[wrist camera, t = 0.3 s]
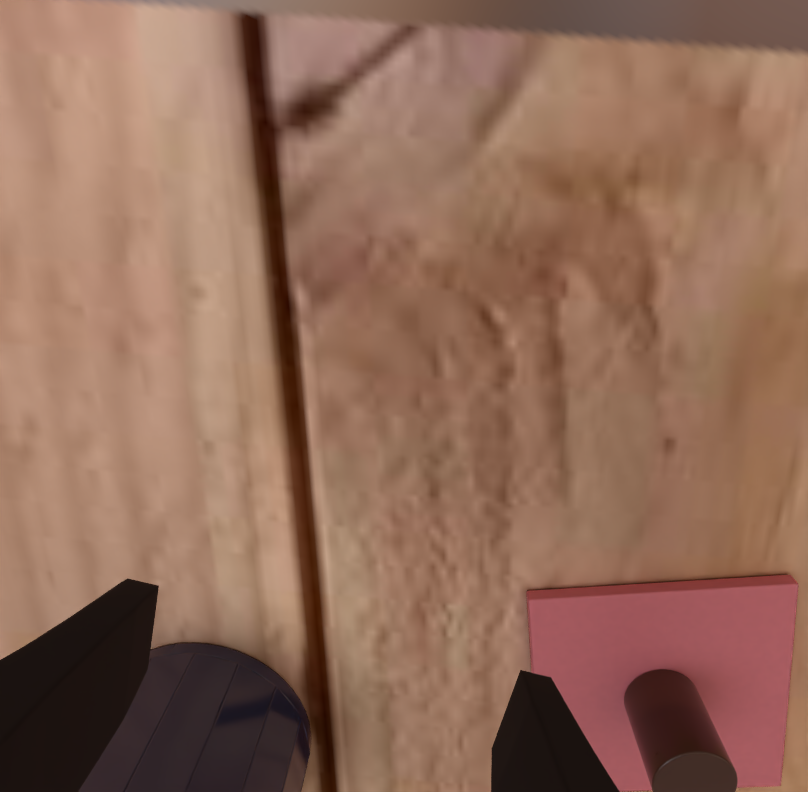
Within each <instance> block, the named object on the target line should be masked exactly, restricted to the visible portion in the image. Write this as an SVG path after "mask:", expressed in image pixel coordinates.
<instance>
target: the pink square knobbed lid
mask: <svg viewBox="0 0 808 792" xmlns="http://www.w3.org/2000/svg"><path fill="white" fill-rule="evenodd" d="M797 596H798V583H797V582H796V581H795V579H794V578H793V577H792V576H791V575H775V576H759V577H743V578H727V579H710V580H694V581H678V582H662V583H645V584H629V585H613V586H597V587H580V588H564V589H548V590H532V591H527V592H526V597H527V612H528V627H529V643H530V658H531V673H535V674H539V675H543V676H548V677H551V678H552V680H553V682H554V683H555V685H556V687H557V688H558V690H559V692H560V694H561V695H562V697H563V699H564V701H565V702H566V704H567V706H568V708H569V709H570V711H571V713H572V714H573V716H574V718H575V720H576V721H577V723H578V725H579V727H580V728H581V730H582V732H583V733H584V735H585V737H586V738H587V740H588V742H589V743H590V745H591V747H592V748H593V750H594V752H595V753H596V755H597V757H598V758H599V760H600V761H601V763H602V765H603V766H604V768H605V769H606V771H607V773H608V774H609V776H610V777H611V779H612V780H613V782H614V784H615V785H616V787H617V788H618V790H619V791H650V790H652V791H653V792H735V791H736V788H739V787H768V786H781V778H782V767H783V756H784V744H785V733H786V721H787V710H788V699H789V687H790V676H791V664H792V653H793V641H794V630H795V619H796V607H797Z"/></svg>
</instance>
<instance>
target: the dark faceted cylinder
mask: <svg viewBox="0 0 808 792" xmlns="http://www.w3.org/2000/svg"><path fill="white" fill-rule="evenodd" d="M310 747H311V730H310V724H309V720H308V717H307V714H306V711H305V709H304V707H303V705H302V703H301V701H300V699H299V698H298V696H297V695H296V694H295V692H294V691H293V689H292V688H291V687H290V686H289V685H288V684H287V683H286V682H285V680H284V679H282V678H281V677H280V676H279V675H278V674H277V673H275V672H274V671H273V670H272V669H270V668H269V667H267V666H266V665H264V664H263V663H261V662H259V661H258V660H256V659H254V658H252V657H250V656H248V655H245V654H243V653H241V652H238V651H236V650H232V649H229V648H225V647H222V646H216V645H210V644H201V643H180V644H173V645H167V646H163V647H159V648H156V649H153V650H150V656H149V664H148V670H147V672H146V674H145V676H144V678H143V680H142V683H141V685H140V687H139V689H138V691H137V693H136V695H135V697H134V699H133V701H132V703H131V705H130V707H129V709H128V712H127V714H126V716H125V718H124V720H123V721H122V723H121V724H120V726H119V728H118V729H117V731H116V733H115V734H114V736H113V737H112V739H111V741H110V742H109V744H108V745H107V747H106V749H105V750H104V752H103V753H102V755H101V757H100V758H99V760H98V761H97V763H96V764H95V766H94V768H93V769H92V771H91V772H90V774H89V775H88V777H87V779H86V780H85V782H84V783H83V785H82V786H81V788H80V790H79V791H78V792H301V790H302V786H303V781H304V777H305V773H306V768H307V764H308V759H309V755H310Z"/></svg>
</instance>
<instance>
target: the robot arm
mask: <svg viewBox="0 0 808 792" xmlns="http://www.w3.org/2000/svg"><path fill="white" fill-rule="evenodd" d="M158 587H159V586H157V585H153V584H148V583H144V582H140V581H135V580H131V579H126V580H125V581H123V582H121V583H120V584H118V585H117V586H115V587H114V588H112V589H111V590H109V591H108V592H106V593H105V594H104V595H102V596H101V597H99V598H98V599H96V600H95V601H93V602H92V603H90V604H89V605H87V606H86V607H84V608H83V609H81V610H80V611H79V612H77V613H76V614H74V615H73V616H71V617H70V618H68V619H67V620H65V621H63V622H62V623H60V624H59V625H57V626H56V627H54V628H52V629H51V630H49V631H48V632H46V633H45V634H43V635H42V636H40V637H38V638H37V639H35V640H34V641H32V642H30V643H29V644H27V645H26V646H24V647H22V648H20V649H19V650H17V651H15V652H13V653H12V654H10V655H8V656H7V657H5V658H3V659H1V660H0V792H78V791H79V790H80V788H81V786H82V785H83V783H84V782H85V780H86V779H87V777H88V775H89V774H90V772H91V771H92V769H93V768H94V766H95V764H96V763H97V761H98V760H99V758H100V757H101V755H102V753H103V752H104V750H105V749H106V747H107V745H108V744H109V742H110V741H111V739H112V737H113V736H114V734H115V733H116V731H117V729H118V728H119V726H120V724H121V723H122V721H123V720H124V718H125V716H126V714H127V712H128V709H129V707H130V705H131V703H132V701H133V699H134V697H135V695H136V693H137V691H138V689H139V687H140V685H141V683H142V680H143V678H144V676H145V674H146V672H147V670H148V664H149V656H150V648H151V641H152V633H153V625H154V618H155V610H156V602H157V595H158ZM491 792H620V791H619V790H618V788H617V787H616V785H615V784H614V782H613V780H612V779H611V777H610V776H609V774H608V773H607V771H606V769H605V768H604V766H603V765H602V763H601V761H600V760H599V758H598V757H597V755H596V753H595V752H594V750H593V748H592V747H591V745H590V743H589V742H588V740H587V738H586V737H585V735H584V733H583V732H582V730H581V728H580V727H579V725H578V723H577V721H576V720H575V718H574V716H573V714H572V713H571V711H570V709H569V708H568V706H567V704H566V702H565V701H564V699H563V697H562V695H561V694H560V692H559V690H558V688H557V687H556V685H555V683H554V682H553V680H552V678H551V677H548V676H543V675H539V674H535V673H531V672H526V671H522V670H520V673H519V676H518V679H517V681H516V684H515V687H514V689H513V692H512V695H511V698H510V700H509V703H508V706H507V709H506V711H505V714H504V717H503V720H502V722H501V725H500V728H499V730H498V733H497V736H496V739H495V741H494V744H493V747H492V774H491Z"/></svg>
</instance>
